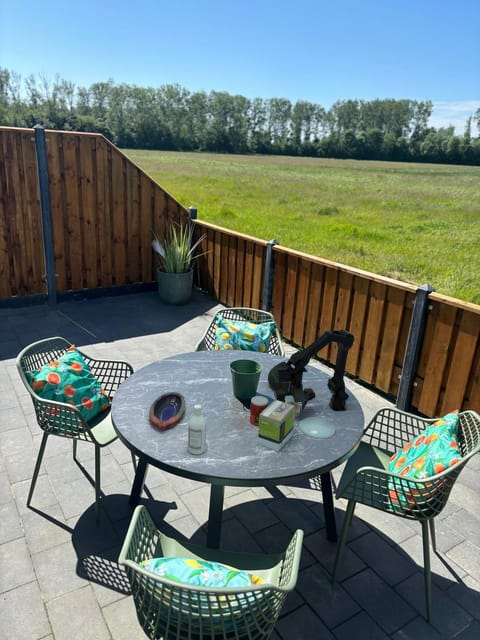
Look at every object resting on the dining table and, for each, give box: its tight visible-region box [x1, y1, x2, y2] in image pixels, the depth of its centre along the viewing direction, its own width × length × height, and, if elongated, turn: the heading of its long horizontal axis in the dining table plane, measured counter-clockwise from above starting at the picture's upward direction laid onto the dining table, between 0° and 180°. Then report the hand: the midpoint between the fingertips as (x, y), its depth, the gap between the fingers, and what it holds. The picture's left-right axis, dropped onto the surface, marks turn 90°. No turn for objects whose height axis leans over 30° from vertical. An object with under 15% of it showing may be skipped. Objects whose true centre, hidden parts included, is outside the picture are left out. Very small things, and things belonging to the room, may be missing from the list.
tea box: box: [257, 399, 295, 452], centre depth 192 cm, size 15×10×15 cm
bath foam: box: [187, 404, 207, 455], centre depth 182 cm, size 7×7×20 cm
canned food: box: [249, 395, 269, 427], centre depth 206 cm, size 8×8×11 cm
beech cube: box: [286, 401, 301, 417], centre depth 215 cm, size 5×5×5 cm
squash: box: [267, 361, 289, 392], centre depth 239 cm, size 14×15×15 cm
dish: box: [148, 391, 186, 430], centre depth 208 cm, size 16×31×5 cm, turn 175°
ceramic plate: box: [298, 416, 336, 440], centre depth 204 cm, size 16×16×1 cm
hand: (293, 410), depth 215 cm, fingers open, 9 cm apart
